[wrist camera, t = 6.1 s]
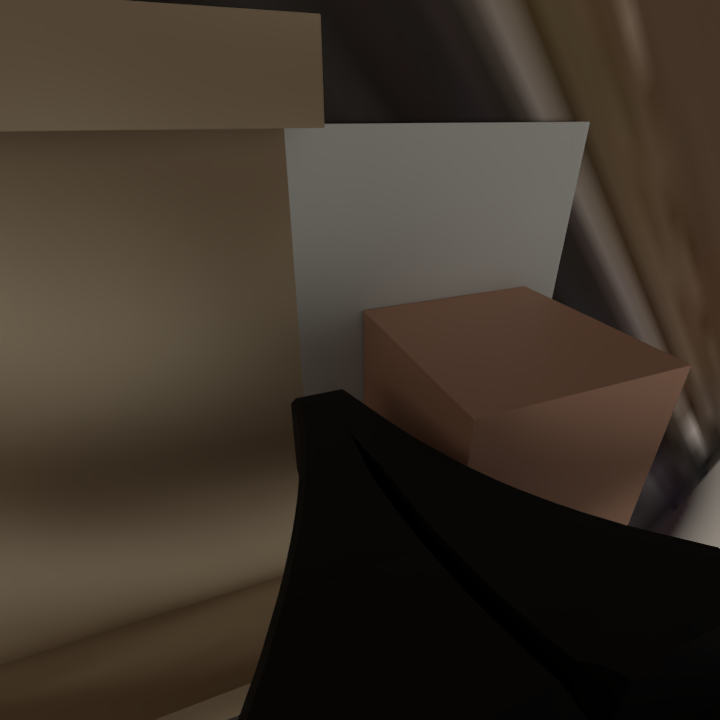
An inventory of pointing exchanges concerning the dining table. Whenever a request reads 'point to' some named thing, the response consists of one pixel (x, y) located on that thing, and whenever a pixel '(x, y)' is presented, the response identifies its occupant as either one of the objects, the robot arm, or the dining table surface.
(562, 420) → the terracotta cube
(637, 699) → the robot arm
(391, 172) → the grey panel
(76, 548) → the tray
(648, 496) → the dining table surface
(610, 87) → the dining table surface
